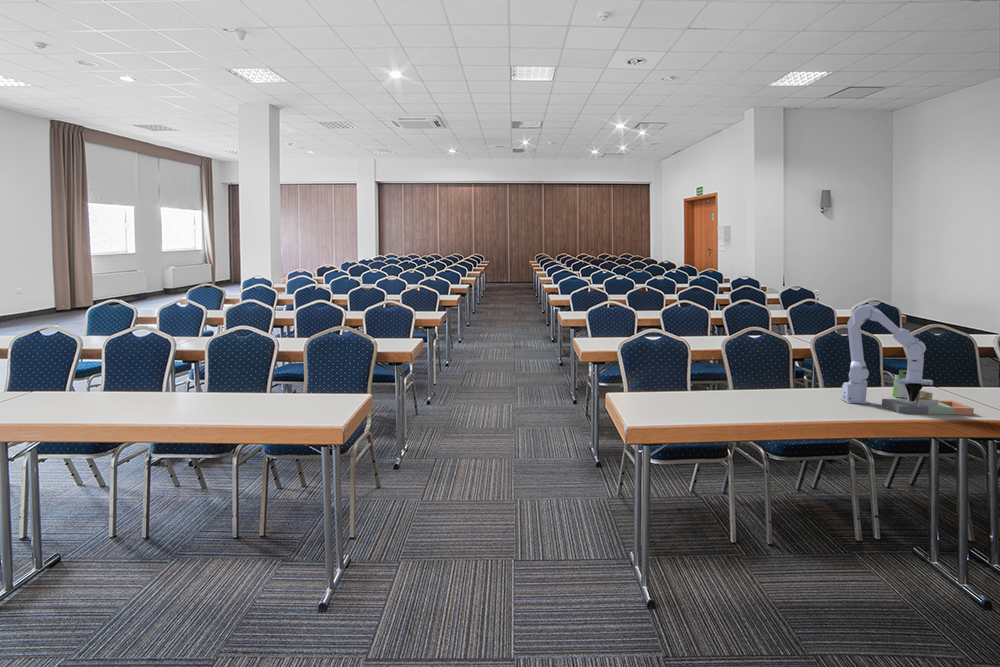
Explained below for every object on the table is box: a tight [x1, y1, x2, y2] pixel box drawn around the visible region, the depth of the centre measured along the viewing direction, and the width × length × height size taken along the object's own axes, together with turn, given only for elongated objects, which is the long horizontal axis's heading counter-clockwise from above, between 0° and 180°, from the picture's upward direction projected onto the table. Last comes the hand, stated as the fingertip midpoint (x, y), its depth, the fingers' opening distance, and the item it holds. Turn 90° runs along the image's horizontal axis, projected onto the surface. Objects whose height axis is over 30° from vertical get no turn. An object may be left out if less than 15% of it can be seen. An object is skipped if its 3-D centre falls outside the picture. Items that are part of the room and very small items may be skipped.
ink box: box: [892, 369, 908, 399], centre depth 304 cm, size 7×4×13 cm, turn 84°
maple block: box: [913, 390, 933, 404], centre depth 279 cm, size 5×5×5 cm
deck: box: [881, 398, 975, 416], centre depth 280 cm, size 30×14×3 cm, turn 86°
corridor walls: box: [907, 395, 940, 406], centre depth 280 cm, size 8×9×2 cm
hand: (912, 400), depth 280 cm, fingers closed
